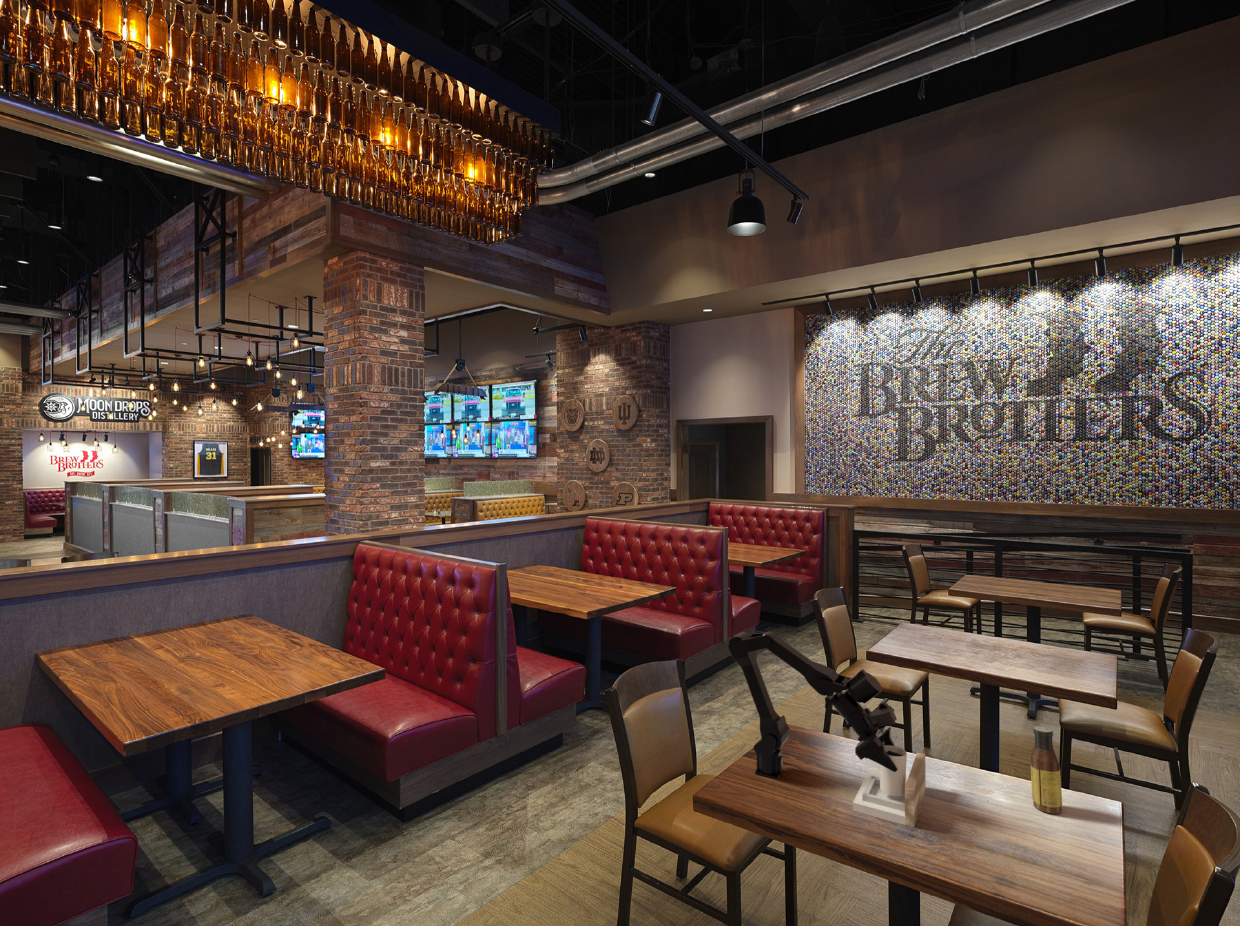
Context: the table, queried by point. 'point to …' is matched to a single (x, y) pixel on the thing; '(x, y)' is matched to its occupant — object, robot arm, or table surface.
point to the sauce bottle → (1045, 773)
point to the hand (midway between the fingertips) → (898, 765)
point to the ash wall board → (915, 790)
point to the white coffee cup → (892, 780)
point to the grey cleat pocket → (879, 800)
